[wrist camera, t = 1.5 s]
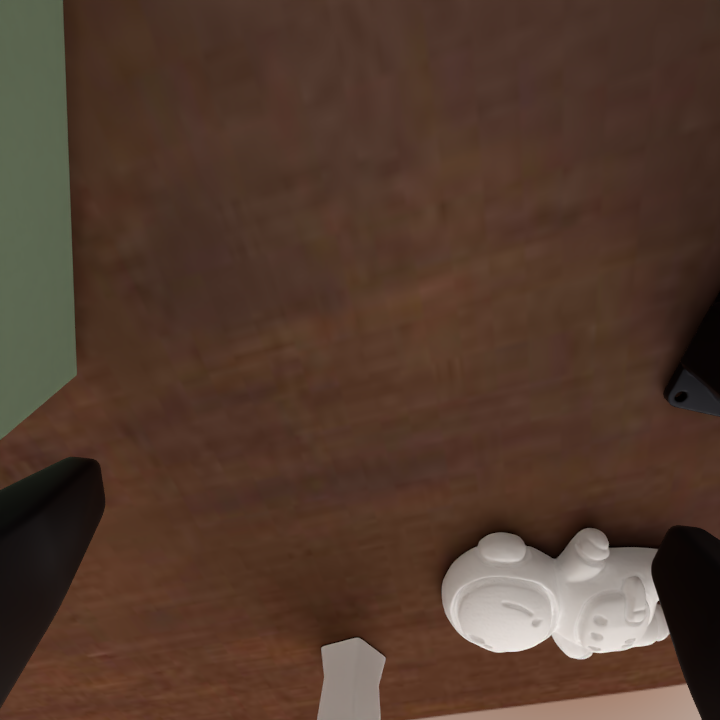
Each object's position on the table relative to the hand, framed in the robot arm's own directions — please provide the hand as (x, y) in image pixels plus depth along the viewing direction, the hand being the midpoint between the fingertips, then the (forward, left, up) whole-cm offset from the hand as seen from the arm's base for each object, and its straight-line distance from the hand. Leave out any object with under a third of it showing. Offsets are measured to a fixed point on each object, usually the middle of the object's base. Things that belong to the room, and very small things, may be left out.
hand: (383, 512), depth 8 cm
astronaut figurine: (-13, +14, -13) cm, 23 cm away
